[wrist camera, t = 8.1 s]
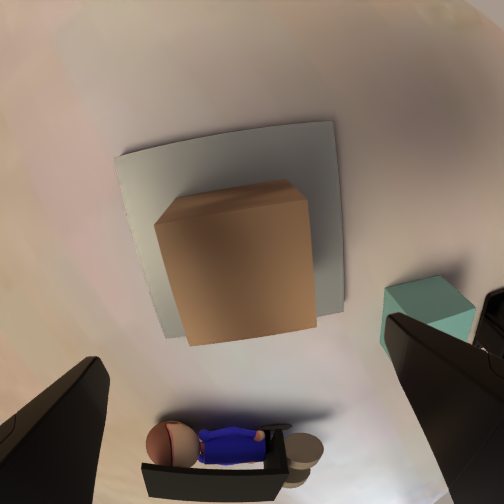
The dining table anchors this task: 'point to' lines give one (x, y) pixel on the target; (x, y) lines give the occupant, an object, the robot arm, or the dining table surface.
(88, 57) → the dining table surface
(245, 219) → the walnut block
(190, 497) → the figurine character
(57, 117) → the dining table surface
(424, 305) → the teal block
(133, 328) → the dining table surface
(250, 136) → the base plate
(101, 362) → the robot arm
